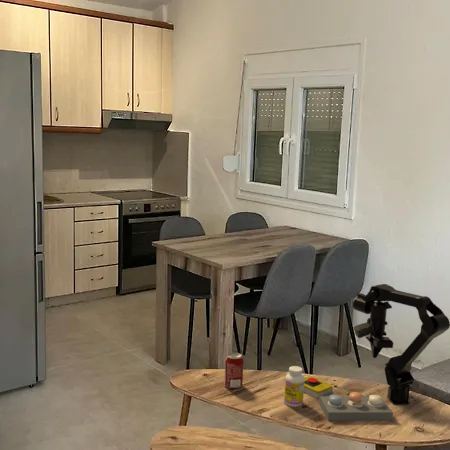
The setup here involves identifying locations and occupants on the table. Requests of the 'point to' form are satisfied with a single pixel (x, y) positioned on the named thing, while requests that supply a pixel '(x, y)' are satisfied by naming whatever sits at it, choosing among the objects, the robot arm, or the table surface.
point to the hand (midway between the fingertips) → (374, 357)
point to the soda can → (233, 370)
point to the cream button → (375, 400)
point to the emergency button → (317, 387)
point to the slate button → (335, 399)
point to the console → (355, 410)
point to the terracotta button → (356, 397)
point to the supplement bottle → (294, 387)
